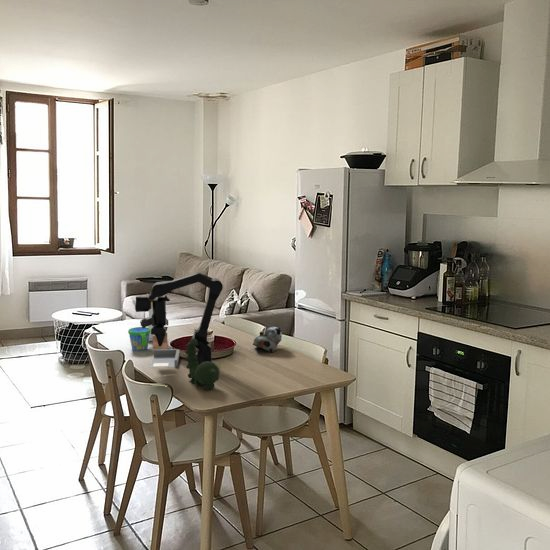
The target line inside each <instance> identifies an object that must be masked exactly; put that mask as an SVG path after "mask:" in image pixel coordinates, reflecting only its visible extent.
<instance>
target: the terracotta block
mask: <svg viewBox="0 0 550 550" xmlns="http://www.w3.org/2000/svg"><path fill="white" fill-rule="evenodd" d="M168 345H169V344H168V332H166V334H165V337H164V340H163V343H162V346H159V345H158V341H157V338H156V336H155V335H153V341H152V347H153V348H152V349H153V350H162V349H168V347H169V346H168Z"/></svg>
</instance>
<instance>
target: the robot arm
mask: <svg viewBox="0 0 550 550" xmlns="http://www.w3.org/2000/svg"><path fill="white" fill-rule="evenodd" d="M197 283H200V284H202V285H203V286H204V287H206V288H208V293H207V298H206V303H205V306H204V309H203V314H202V316H201V320H200V322H199V323H200V324H199V326H198V328H194V330H193V335H192V336H191V339H193V338H194V339H196V340H197V341H198V346H196V345H195V349H197V350H196V356H197V361H198V363H199V364H201V363H202V362H205V361H210V362H213V361H212V346H211V343H210V342H209V341H208V331H209V327H210V323H211V320H212V315H213V312H214V309H215V306H216V303H217V300H218V298H219V296H220V295H221V293H222V291H223V289H224V288H223V287H224V286H223V283H222V281H221V280H220V279H219V278H213V277H210V276H208V275H206V274H203V273H202V272H200V271H196V273H192V274H189V275H185V276H183V277H179V278H176V279H173V280H167V281H166V280H163V281H157V282H155V283H154V284H152V287H151V291H150V292H151V293H150V292H149V293H148V296H146V295H145V296H143V297H140V295H137V296H135V301H136V305H134V309H135V308H136V311H135V313H138V312H139V313H140V312H141V313H143V312H149V310H150V309H151V302H153V314H152V316H150V317H149V316H148V317H145V318H142V319H141V320H140V322H139V323H140V327H142V328H145V327H148V326H150V325H152V326H153V327H152V329H151V334H152V335H155V336H156V338H157V341H158V345H159V346H162V343H163V340H164V337H165V334H166V333H167V331H168V326H169V320H168V319H167V305H166V303H167V302H170V301H171V298H169V297H168V296H167V294H169V293H171V292H172V291H175V290H177V289H181V288H184V287H187V286H191V285H193V284H197ZM161 296H163V297H161ZM156 297H158V299H155V298H156Z"/></svg>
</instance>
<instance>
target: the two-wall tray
mask: <svg viewBox="0 0 550 550" xmlns="http://www.w3.org/2000/svg"><path fill="white" fill-rule="evenodd" d="M179 353H180V348H171V349H168V348H166V349H153V357H152V361H151V363H150V366H149V368H150V369H153V368H177V367H178V364H179V360H180V356H179Z"/></svg>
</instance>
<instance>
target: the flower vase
mask: <svg viewBox="0 0 550 550" xmlns="http://www.w3.org/2000/svg"><path fill="white" fill-rule="evenodd" d="M150 293H151V291H150V292H149V293H146V294H145V297H146V296H149V294H150ZM139 296H140V297H144V296H143V294H141V295H139ZM161 297H164V295H163V296H161ZM155 299H158V297H156V298H155ZM131 300H132V304H133V305H134V306H135V305H136V299H134V298H133V297H131ZM166 306H169V304H168V303H167V302H166ZM134 311H135V312H136V308H135V307H134ZM152 314H153V302H151V309H150V310H149V311H148V317H150V316H152ZM152 327H153V326H152V325H150V326H147V328H150V331H151V329H152ZM149 342H153V335H152V334H151V332H150V334H149Z"/></svg>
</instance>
